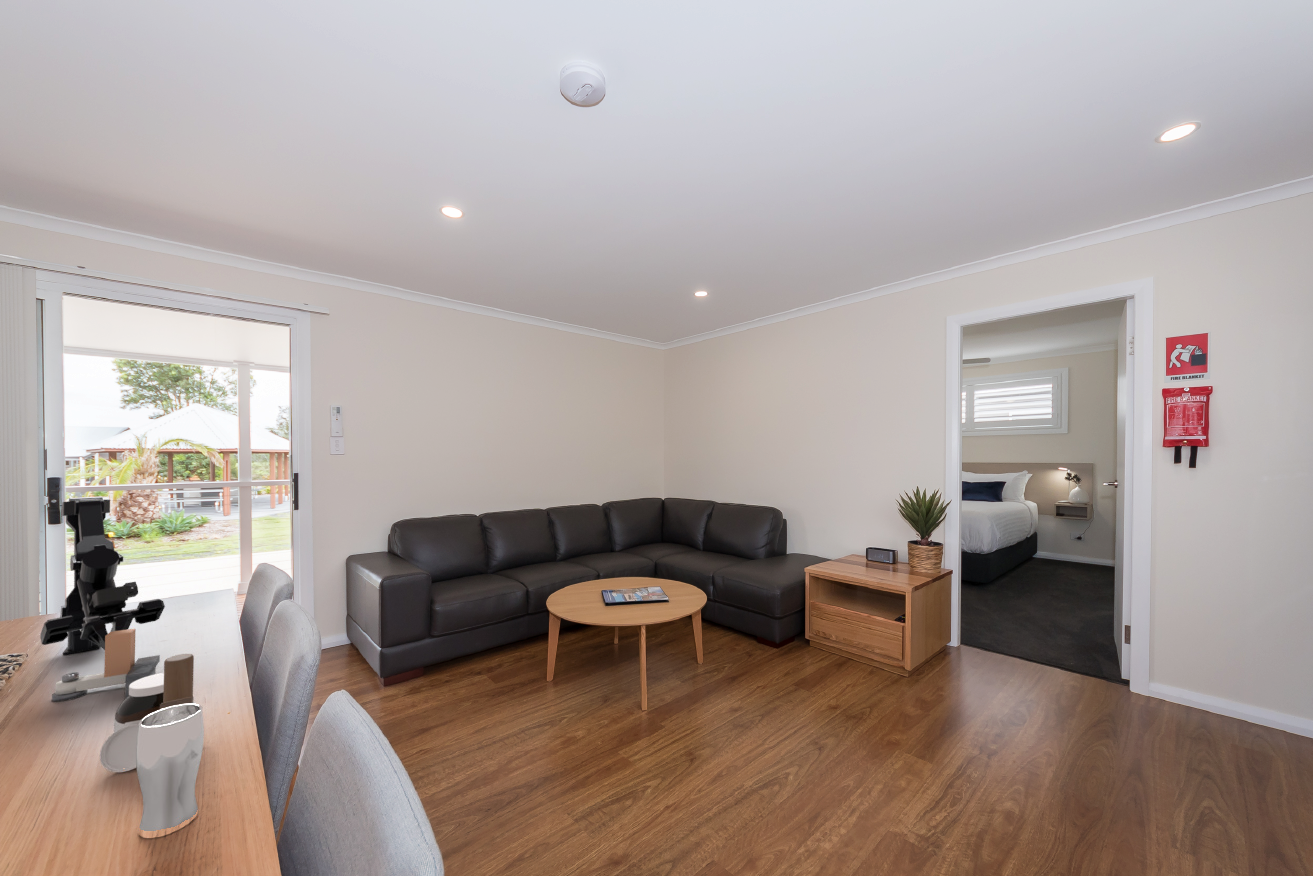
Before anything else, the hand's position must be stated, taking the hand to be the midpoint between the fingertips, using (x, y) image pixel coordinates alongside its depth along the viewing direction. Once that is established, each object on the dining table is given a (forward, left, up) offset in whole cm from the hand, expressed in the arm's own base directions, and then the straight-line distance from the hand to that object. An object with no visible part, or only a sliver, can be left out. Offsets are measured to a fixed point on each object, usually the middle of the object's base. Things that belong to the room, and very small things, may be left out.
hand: (114, 652), depth 115 cm
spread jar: (+40, +9, -8) cm, 42 cm away
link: (+2, -1, -6) cm, 6 cm away
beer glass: (+65, +13, -7) cm, 67 cm away
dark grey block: (+6, +5, -7) cm, 10 cm away
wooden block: (+52, +13, -8) cm, 54 cm away
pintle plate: (+1, -6, -7) cm, 10 cm away
